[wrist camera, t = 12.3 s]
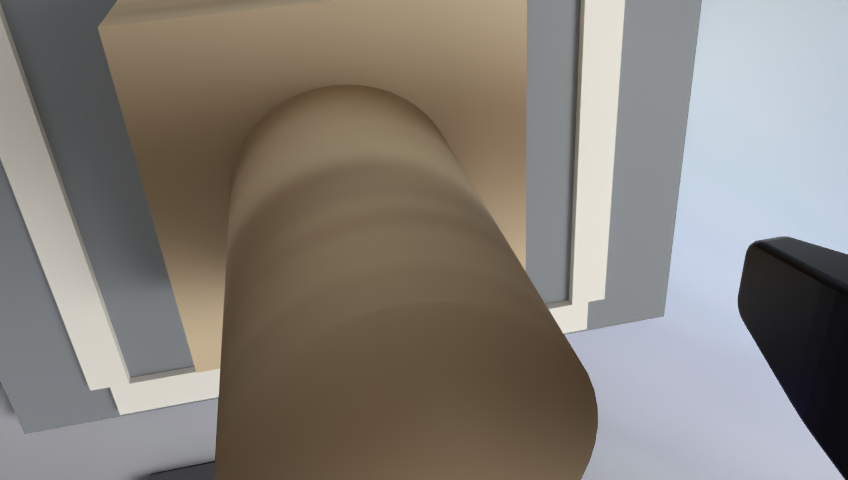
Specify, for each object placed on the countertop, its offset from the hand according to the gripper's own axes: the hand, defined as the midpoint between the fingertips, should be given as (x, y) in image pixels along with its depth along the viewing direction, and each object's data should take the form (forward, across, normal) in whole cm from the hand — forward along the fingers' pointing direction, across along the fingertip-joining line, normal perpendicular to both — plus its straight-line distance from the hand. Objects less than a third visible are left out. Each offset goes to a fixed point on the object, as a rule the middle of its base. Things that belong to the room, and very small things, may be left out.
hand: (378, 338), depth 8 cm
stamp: (+7, 0, 0) cm, 7 cm away
